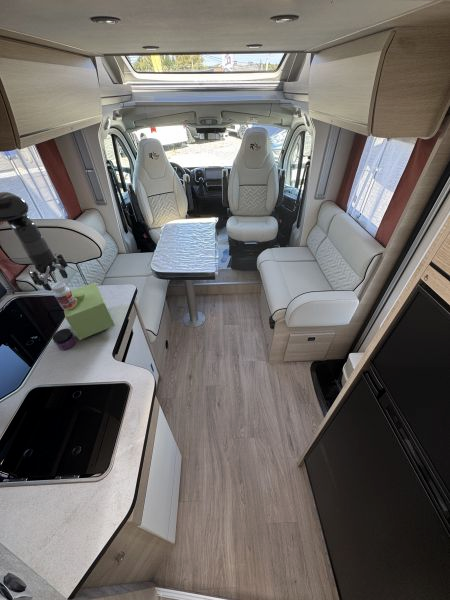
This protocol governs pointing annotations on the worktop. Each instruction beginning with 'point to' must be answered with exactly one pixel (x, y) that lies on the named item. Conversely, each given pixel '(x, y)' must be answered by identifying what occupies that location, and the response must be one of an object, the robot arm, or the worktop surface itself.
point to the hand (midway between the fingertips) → (57, 283)
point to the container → (88, 312)
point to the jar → (67, 343)
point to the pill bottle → (63, 295)
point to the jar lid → (62, 336)
